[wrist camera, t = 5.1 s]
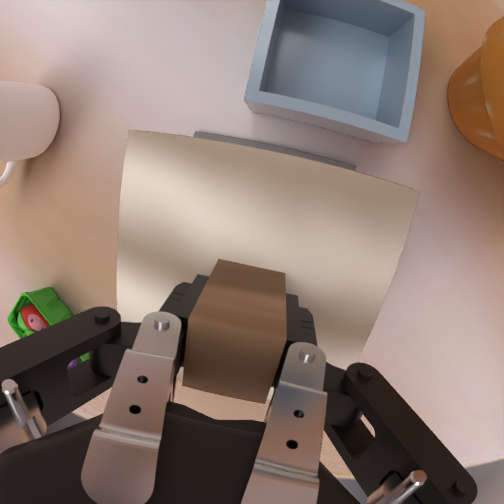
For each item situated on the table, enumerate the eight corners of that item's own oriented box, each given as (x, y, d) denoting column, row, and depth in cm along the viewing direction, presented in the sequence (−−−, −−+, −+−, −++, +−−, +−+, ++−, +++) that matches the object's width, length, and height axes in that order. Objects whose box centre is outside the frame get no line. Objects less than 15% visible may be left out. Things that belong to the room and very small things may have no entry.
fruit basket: (109, 342, 34) (63, 403, 23) (78, 367, 36) (38, 420, 26) (48, 272, 32) (-13, 315, 21) (25, 306, 34) (-26, 348, 23)
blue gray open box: (277, 4, 21) (276, -33, 14) (394, 36, 21) (425, 10, 14) (252, 112, 25) (243, 100, 18) (376, 143, 24) (406, 143, 18)
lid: (136, 129, 13) (57, 130, 7) (413, 188, 13) (484, 220, 7) (125, 354, 17) (83, 419, 12) (331, 399, 17) (341, 476, 12)
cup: (72, 95, 25) (3, 88, 15) (40, 198, 29) (-25, 221, 19) (28, 79, 24) (-35, 73, 15) (1, 172, 28) (-59, 188, 18)
